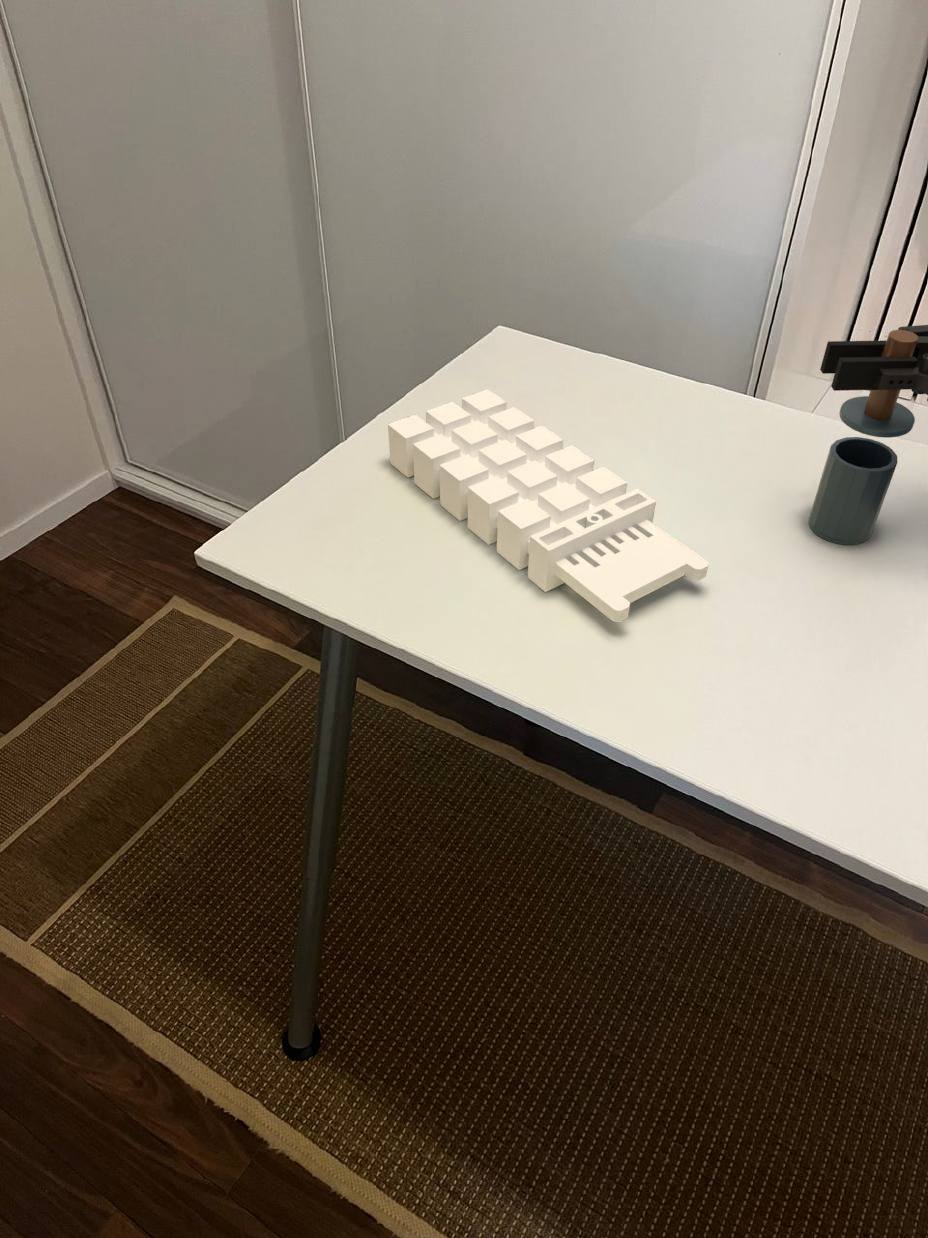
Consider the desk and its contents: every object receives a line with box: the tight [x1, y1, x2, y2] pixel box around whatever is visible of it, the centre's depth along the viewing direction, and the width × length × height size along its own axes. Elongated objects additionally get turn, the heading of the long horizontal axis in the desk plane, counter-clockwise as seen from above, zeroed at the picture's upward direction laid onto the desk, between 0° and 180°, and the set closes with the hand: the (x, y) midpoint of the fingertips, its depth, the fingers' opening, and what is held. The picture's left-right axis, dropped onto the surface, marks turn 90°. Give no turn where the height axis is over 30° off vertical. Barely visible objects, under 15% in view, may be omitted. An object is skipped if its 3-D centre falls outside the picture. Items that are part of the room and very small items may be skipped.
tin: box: [808, 436, 899, 546], centre depth 91 cm, size 6×6×8 cm
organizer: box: [387, 389, 710, 623], centre depth 93 cm, size 13×5×35 cm
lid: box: [839, 329, 918, 438], centre depth 83 cm, size 6×6×9 cm
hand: (831, 365), depth 82 cm, fingers closed on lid, 2 cm apart
